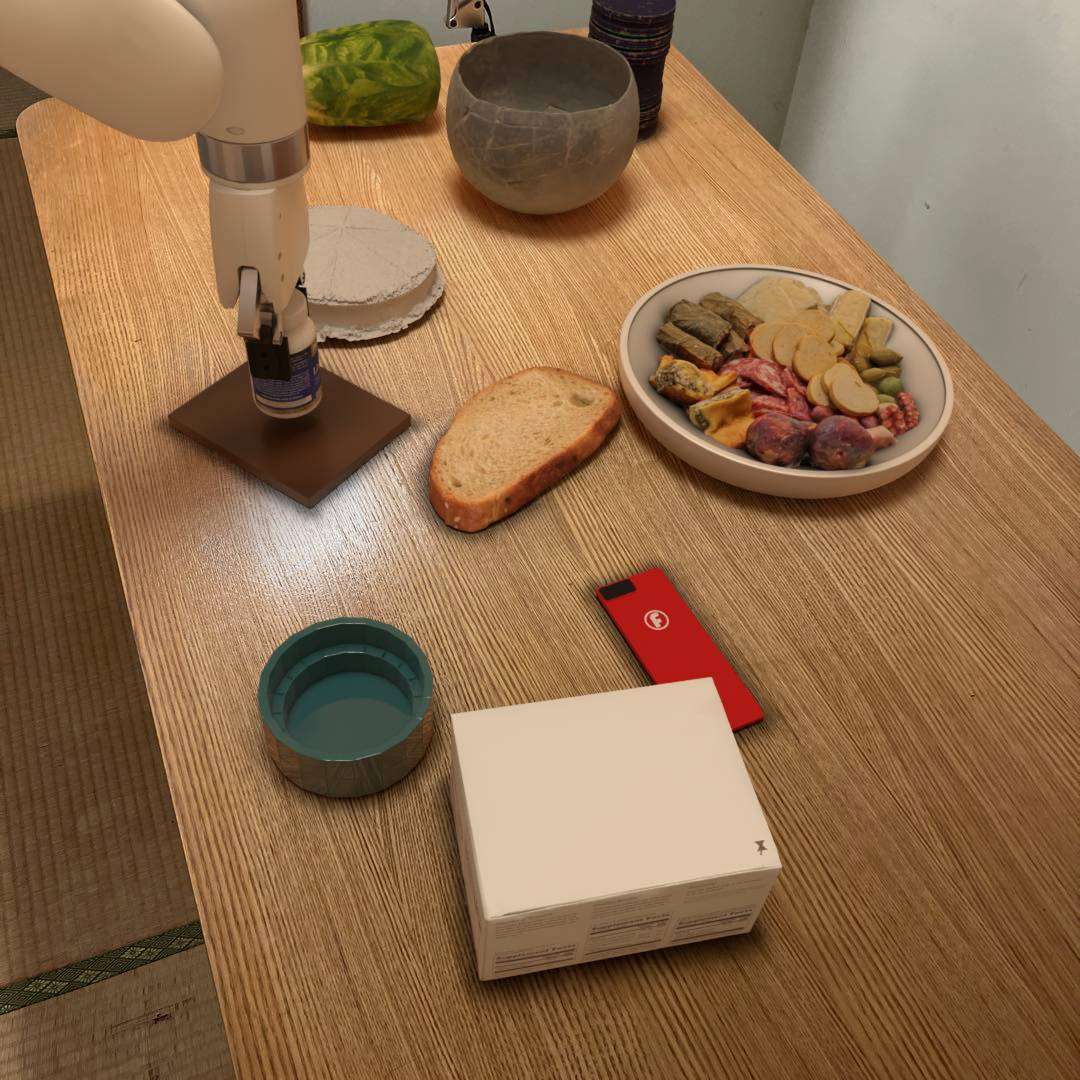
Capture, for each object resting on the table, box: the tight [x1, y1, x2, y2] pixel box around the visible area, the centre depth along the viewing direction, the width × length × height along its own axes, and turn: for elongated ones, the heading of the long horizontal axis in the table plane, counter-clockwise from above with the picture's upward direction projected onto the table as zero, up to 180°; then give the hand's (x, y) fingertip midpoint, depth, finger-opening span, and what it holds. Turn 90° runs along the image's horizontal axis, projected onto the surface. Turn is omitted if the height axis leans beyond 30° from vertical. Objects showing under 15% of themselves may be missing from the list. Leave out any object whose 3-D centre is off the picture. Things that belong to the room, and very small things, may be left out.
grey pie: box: [299, 203, 446, 343], centre depth 105 cm, size 20×20×7 cm
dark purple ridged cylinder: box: [587, 0, 677, 143], centre depth 127 cm, size 10×10×18 cm
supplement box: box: [449, 677, 783, 982], centre depth 65 cm, size 17×13×9 cm
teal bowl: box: [256, 616, 434, 798], centre depth 72 cm, size 11×11×5 cm
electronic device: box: [595, 567, 765, 732], centre depth 79 cm, size 6×1×15 cm
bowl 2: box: [617, 263, 955, 500], centre depth 97 cm, size 30×30×8 cm
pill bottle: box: [244, 288, 322, 418], centre depth 87 cm, size 6×6×10 cm
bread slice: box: [427, 365, 623, 533], centre depth 92 cm, size 18×18×4 cm
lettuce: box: [300, 19, 442, 128], centre depth 125 cm, size 12×21×11 cm, turn 111°
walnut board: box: [167, 360, 412, 509], centre depth 93 cm, size 16×13×1 cm
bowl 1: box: [445, 30, 640, 216], centre depth 116 cm, size 20×20×15 cm
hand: (281, 350), depth 87 cm, fingers closed on pill bottle, 5 cm apart
